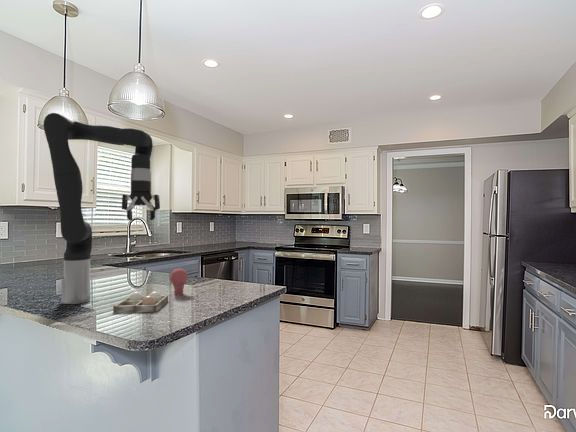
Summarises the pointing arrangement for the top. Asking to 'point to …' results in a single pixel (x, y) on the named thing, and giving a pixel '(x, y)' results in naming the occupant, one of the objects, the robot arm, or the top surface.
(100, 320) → the top surface
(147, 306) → the divided tray
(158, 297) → the white egg back right
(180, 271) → the light bulb
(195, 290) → the top surface
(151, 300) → the beige ball
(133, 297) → the white egg back left
